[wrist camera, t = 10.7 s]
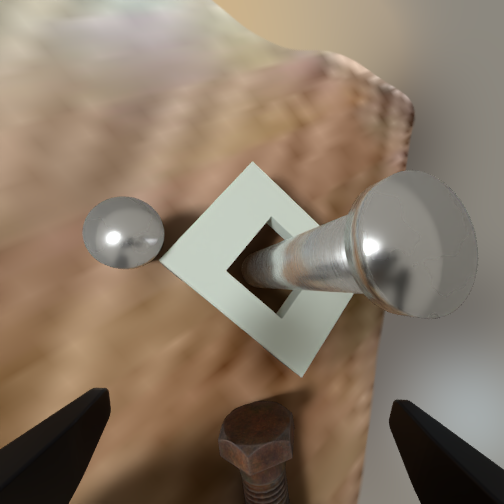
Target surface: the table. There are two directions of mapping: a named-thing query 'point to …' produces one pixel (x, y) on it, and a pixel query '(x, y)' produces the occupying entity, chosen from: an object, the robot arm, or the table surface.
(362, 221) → the long pin
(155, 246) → the short stub
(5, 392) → the table surface
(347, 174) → the table surface
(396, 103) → the table surface
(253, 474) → the bolt
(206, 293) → the square washer plate
